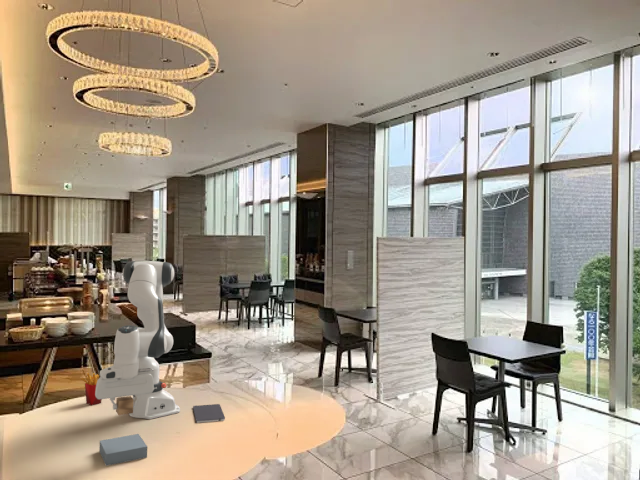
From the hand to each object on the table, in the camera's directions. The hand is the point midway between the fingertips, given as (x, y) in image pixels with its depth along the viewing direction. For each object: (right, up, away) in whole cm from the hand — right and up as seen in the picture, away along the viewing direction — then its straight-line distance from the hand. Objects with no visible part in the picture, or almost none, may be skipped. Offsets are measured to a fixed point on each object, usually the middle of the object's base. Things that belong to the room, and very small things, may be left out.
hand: (124, 407), depth 179 cm
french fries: (-38, -18, +55) cm, 69 cm away
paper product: (+21, -20, +46) cm, 54 cm away
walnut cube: (0, -2, 0) cm, 2 cm away
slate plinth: (0, -17, 0) cm, 17 cm away
